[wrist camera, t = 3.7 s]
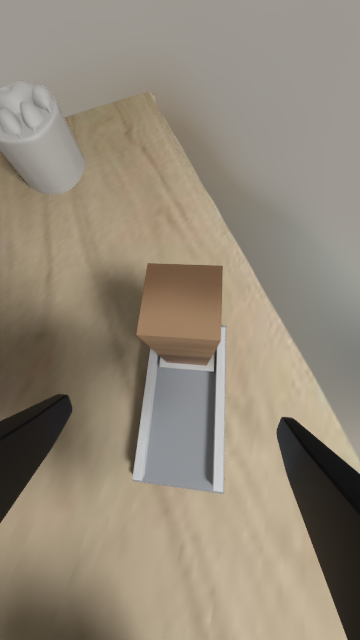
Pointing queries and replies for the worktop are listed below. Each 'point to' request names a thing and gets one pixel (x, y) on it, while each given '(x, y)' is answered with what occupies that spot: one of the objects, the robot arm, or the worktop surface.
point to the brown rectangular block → (182, 314)
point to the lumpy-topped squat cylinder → (38, 139)
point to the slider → (183, 426)
